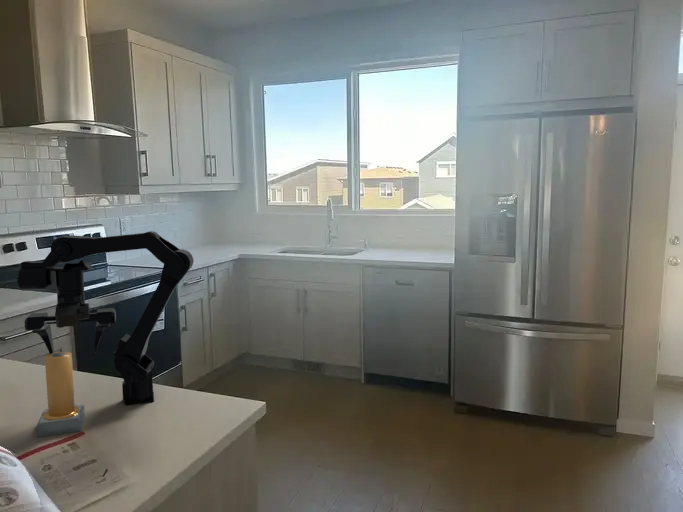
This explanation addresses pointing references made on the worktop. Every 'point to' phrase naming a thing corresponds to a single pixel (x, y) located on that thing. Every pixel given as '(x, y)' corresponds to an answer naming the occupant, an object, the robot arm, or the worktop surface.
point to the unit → (61, 422)
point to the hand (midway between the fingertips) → (74, 354)
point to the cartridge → (59, 384)
